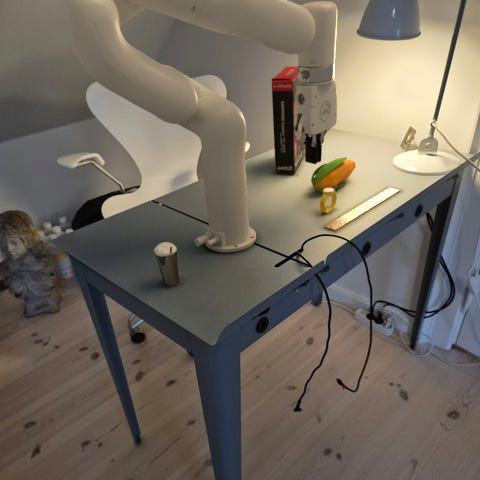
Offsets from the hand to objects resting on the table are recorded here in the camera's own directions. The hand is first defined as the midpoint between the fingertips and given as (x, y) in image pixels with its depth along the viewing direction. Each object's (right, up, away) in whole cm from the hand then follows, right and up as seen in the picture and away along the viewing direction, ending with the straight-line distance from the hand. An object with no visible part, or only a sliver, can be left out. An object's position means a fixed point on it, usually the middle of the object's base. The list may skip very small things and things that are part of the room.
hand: (313, 161), depth 105 cm
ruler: (+15, -8, +13) cm, 22 cm away
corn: (+10, +2, +26) cm, 28 cm away
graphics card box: (-1, +13, +41) cm, 43 cm away
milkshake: (-32, -29, -9) cm, 44 cm away
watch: (+6, -9, +13) cm, 17 cm away
